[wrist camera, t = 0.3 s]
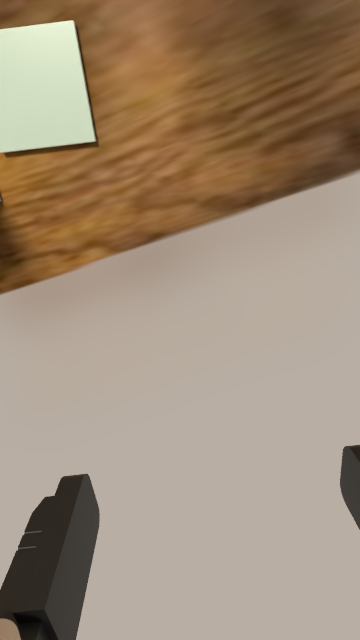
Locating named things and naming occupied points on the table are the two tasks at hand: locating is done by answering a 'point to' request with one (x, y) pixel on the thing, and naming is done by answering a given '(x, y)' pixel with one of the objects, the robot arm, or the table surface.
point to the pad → (43, 88)
